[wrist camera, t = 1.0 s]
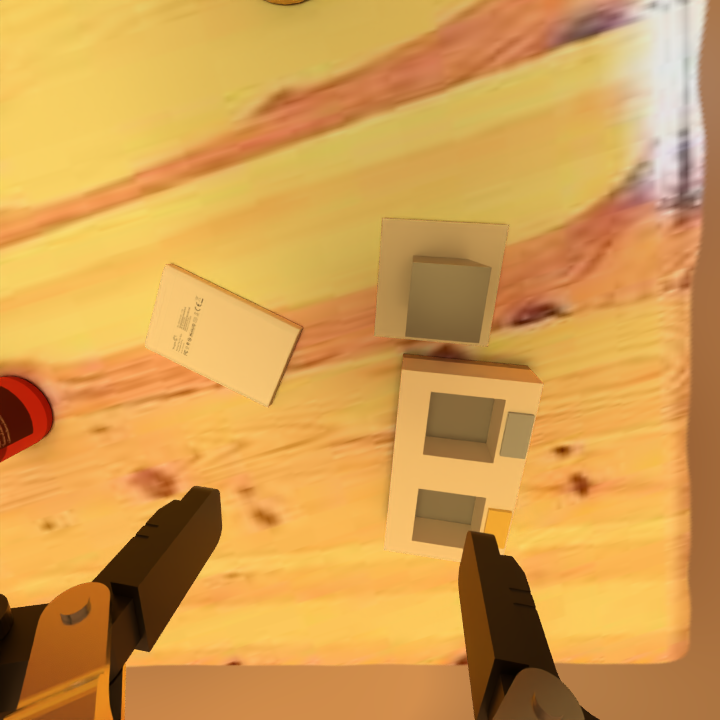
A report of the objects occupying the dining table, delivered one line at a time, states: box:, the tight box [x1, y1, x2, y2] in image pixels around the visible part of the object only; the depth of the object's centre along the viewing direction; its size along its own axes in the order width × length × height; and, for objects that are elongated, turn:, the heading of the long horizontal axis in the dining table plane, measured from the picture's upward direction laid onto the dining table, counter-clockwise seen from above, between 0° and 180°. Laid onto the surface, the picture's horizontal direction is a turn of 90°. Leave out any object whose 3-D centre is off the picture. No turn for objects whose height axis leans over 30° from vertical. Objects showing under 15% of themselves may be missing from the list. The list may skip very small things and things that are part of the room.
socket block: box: [384, 354, 544, 562], centre depth 31 cm, size 17×10×4 cm, turn 177°
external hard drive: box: [145, 264, 303, 407], centre depth 33 cm, size 2×8×12 cm
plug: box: [405, 255, 492, 343], centre depth 24 cm, size 4×4×9 cm
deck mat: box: [374, 218, 509, 347], centre depth 28 cm, size 9×9×1 cm
